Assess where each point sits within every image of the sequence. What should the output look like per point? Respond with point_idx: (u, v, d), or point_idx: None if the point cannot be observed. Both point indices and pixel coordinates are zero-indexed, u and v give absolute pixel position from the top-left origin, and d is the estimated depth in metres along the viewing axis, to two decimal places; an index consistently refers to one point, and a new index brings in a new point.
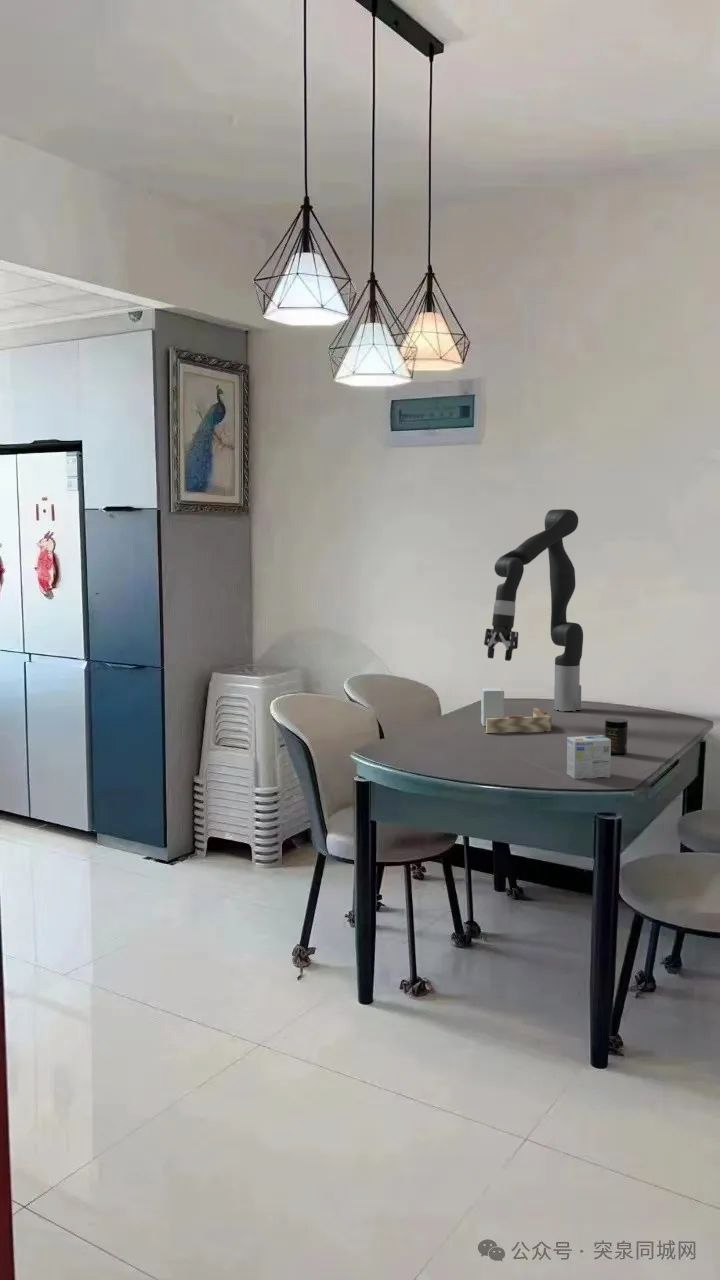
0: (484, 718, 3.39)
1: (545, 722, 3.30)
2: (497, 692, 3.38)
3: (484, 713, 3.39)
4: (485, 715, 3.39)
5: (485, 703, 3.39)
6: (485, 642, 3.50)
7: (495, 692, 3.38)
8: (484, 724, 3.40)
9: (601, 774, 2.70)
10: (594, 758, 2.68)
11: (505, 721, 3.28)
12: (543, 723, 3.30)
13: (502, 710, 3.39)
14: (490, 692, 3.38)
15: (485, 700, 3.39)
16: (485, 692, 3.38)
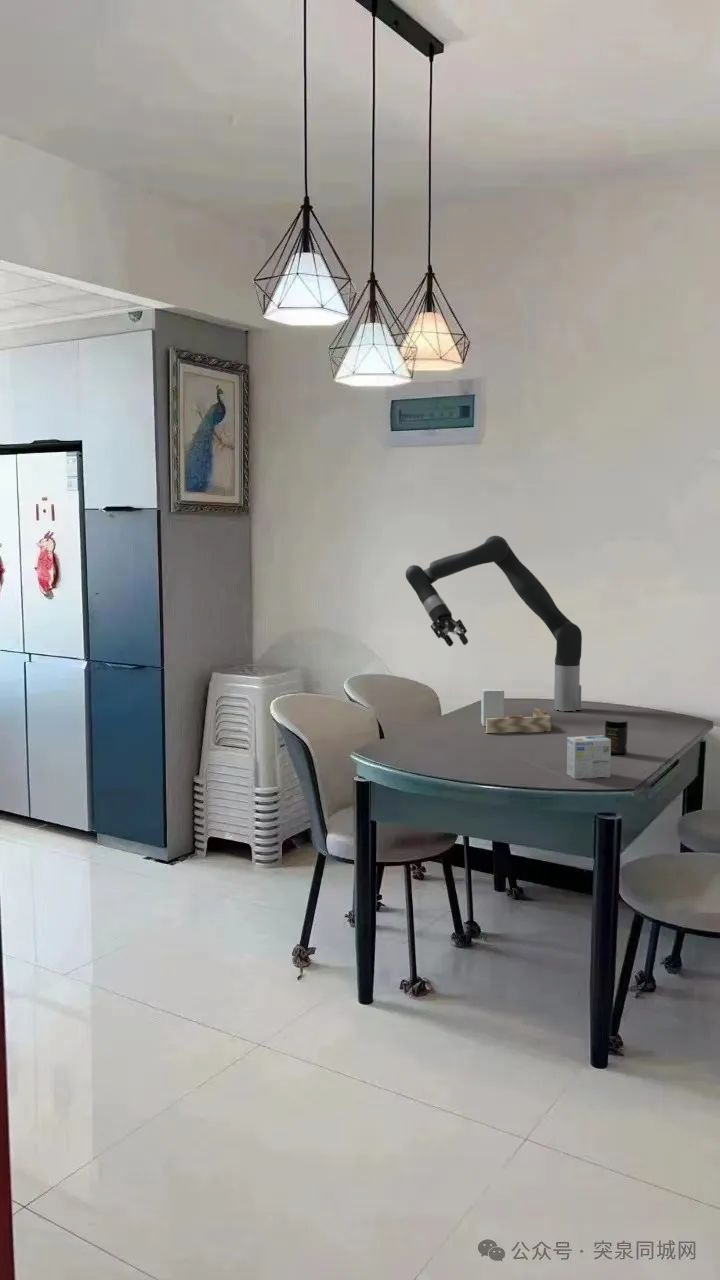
0: (484, 718, 3.39)
1: (545, 722, 3.30)
2: (497, 692, 3.38)
3: (484, 713, 3.39)
4: (485, 715, 3.39)
5: (485, 703, 3.39)
6: None
7: (495, 692, 3.38)
8: (484, 724, 3.40)
9: (601, 774, 2.70)
10: (594, 758, 2.69)
11: (505, 721, 3.28)
12: (543, 723, 3.30)
13: (502, 710, 3.39)
14: (490, 692, 3.38)
15: (485, 700, 3.39)
16: (485, 692, 3.38)
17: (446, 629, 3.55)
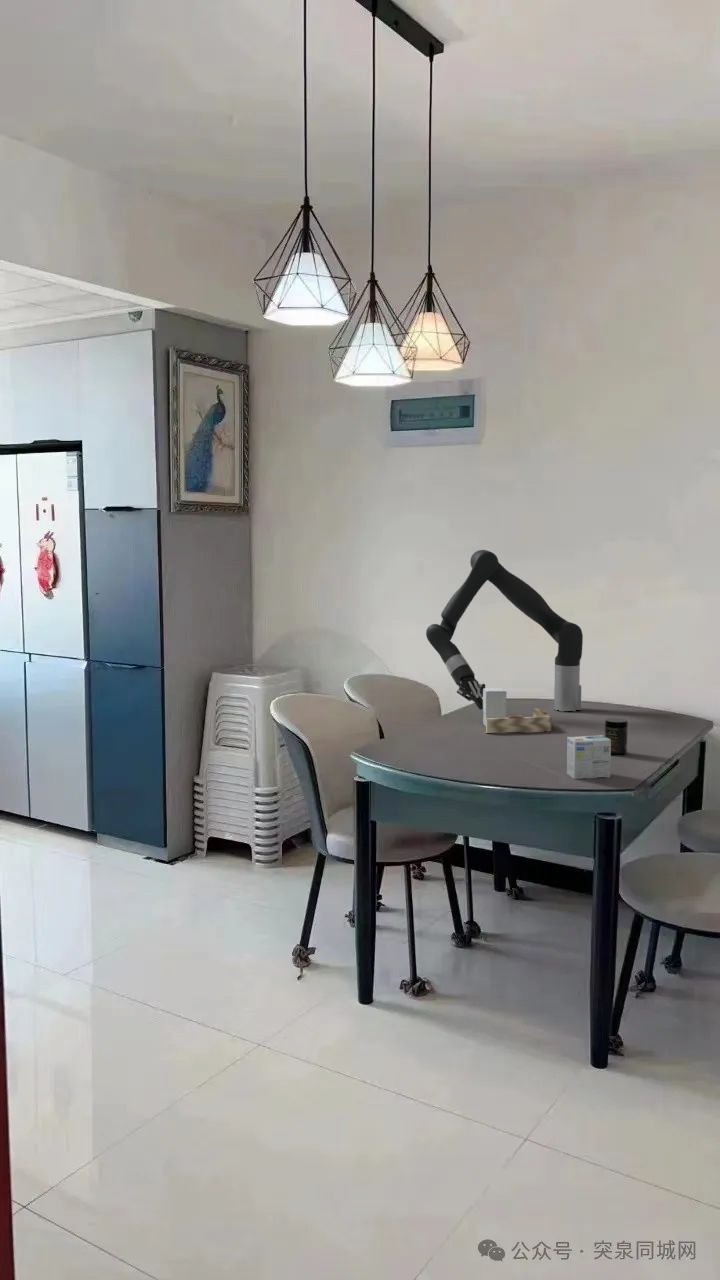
0: None
1: (545, 722, 3.30)
2: (499, 692, 3.38)
3: (486, 713, 3.38)
4: (487, 715, 3.38)
5: (487, 703, 3.38)
6: None
7: (497, 692, 3.38)
8: None
9: (601, 774, 2.70)
10: (594, 758, 2.68)
11: (505, 721, 3.28)
12: (543, 723, 3.30)
13: (504, 710, 3.38)
14: (492, 692, 3.38)
15: (487, 700, 3.38)
16: (487, 692, 3.37)
17: (474, 691, 3.47)
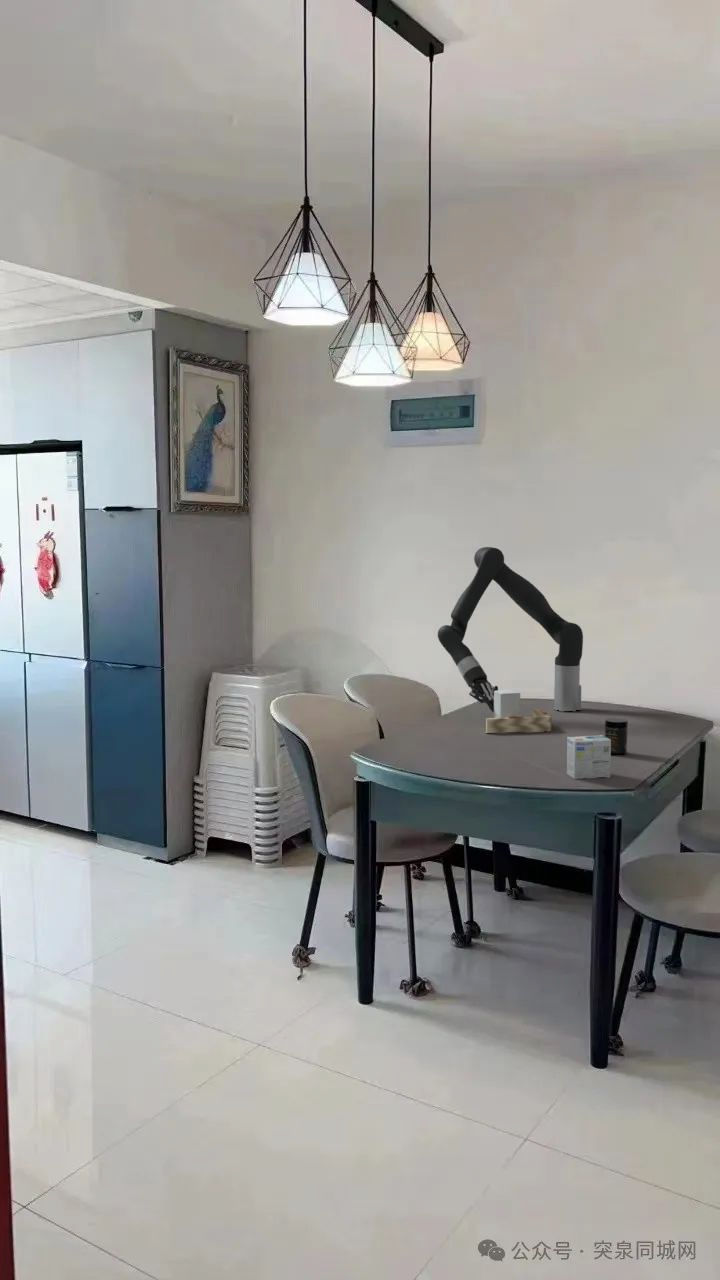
0: None
1: (545, 722, 3.30)
2: (513, 694, 3.33)
3: (501, 716, 3.33)
4: None
5: (502, 706, 3.33)
6: None
7: (512, 694, 3.33)
8: None
9: (601, 774, 2.70)
10: (594, 758, 2.69)
11: (505, 721, 3.28)
12: (543, 723, 3.30)
13: (518, 712, 3.34)
14: (507, 694, 3.33)
15: (502, 703, 3.33)
16: (502, 695, 3.33)
17: (487, 693, 3.43)
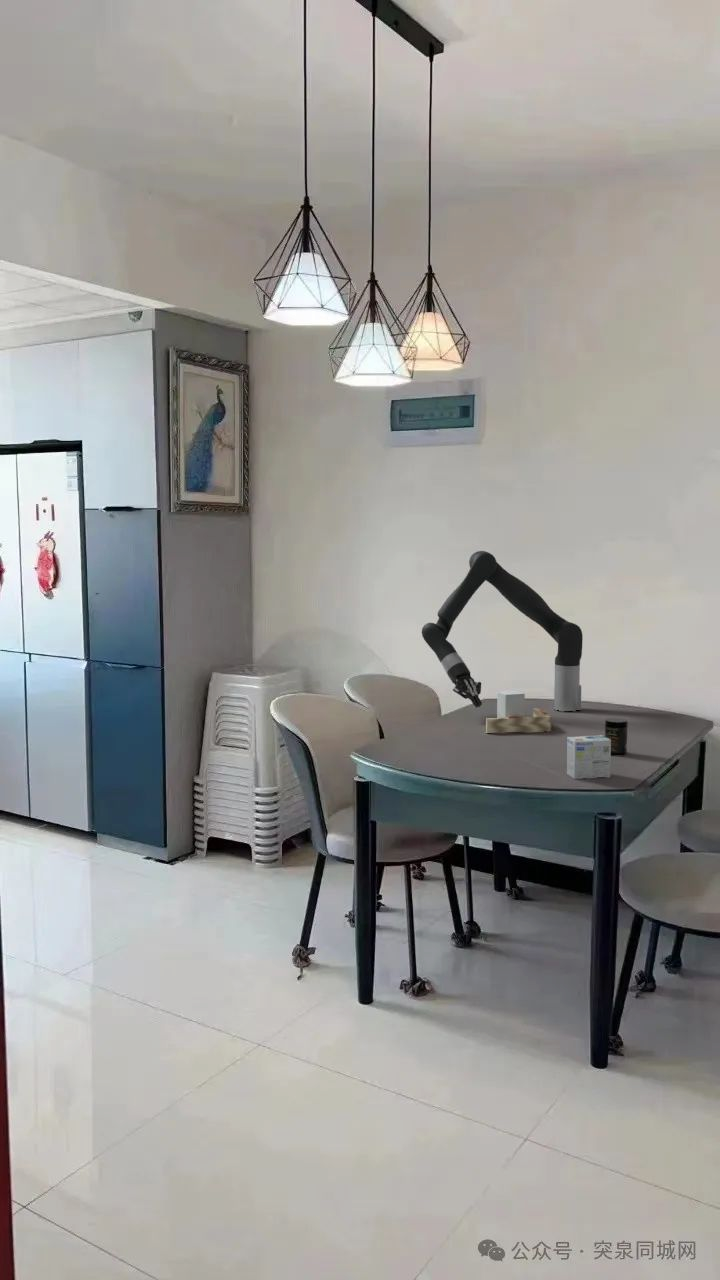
0: None
1: (545, 722, 3.30)
2: (518, 695, 3.32)
3: (506, 717, 3.31)
4: None
5: (507, 707, 3.31)
6: None
7: (516, 695, 3.32)
8: None
9: (601, 774, 2.70)
10: (594, 758, 2.69)
11: (505, 721, 3.28)
12: (543, 723, 3.30)
13: (523, 713, 3.33)
14: (511, 695, 3.31)
15: (507, 704, 3.31)
16: (507, 696, 3.31)
17: (470, 689, 3.49)
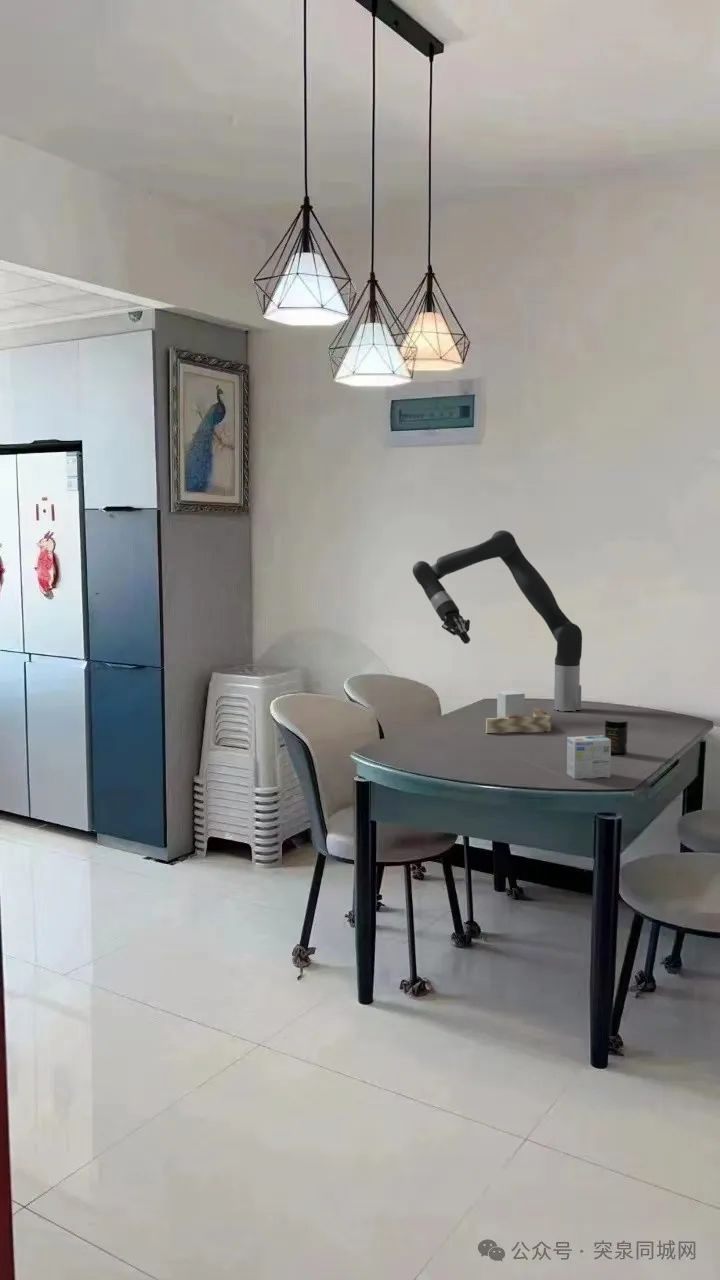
0: None
1: (545, 722, 3.30)
2: (518, 695, 3.32)
3: (506, 717, 3.31)
4: None
5: (507, 707, 3.31)
6: None
7: (516, 695, 3.32)
8: None
9: (601, 774, 2.70)
10: (594, 758, 2.69)
11: (505, 721, 3.28)
12: (543, 723, 3.30)
13: (523, 713, 3.33)
14: (511, 695, 3.31)
15: (507, 704, 3.31)
16: (507, 696, 3.31)
17: (459, 626, 3.53)
